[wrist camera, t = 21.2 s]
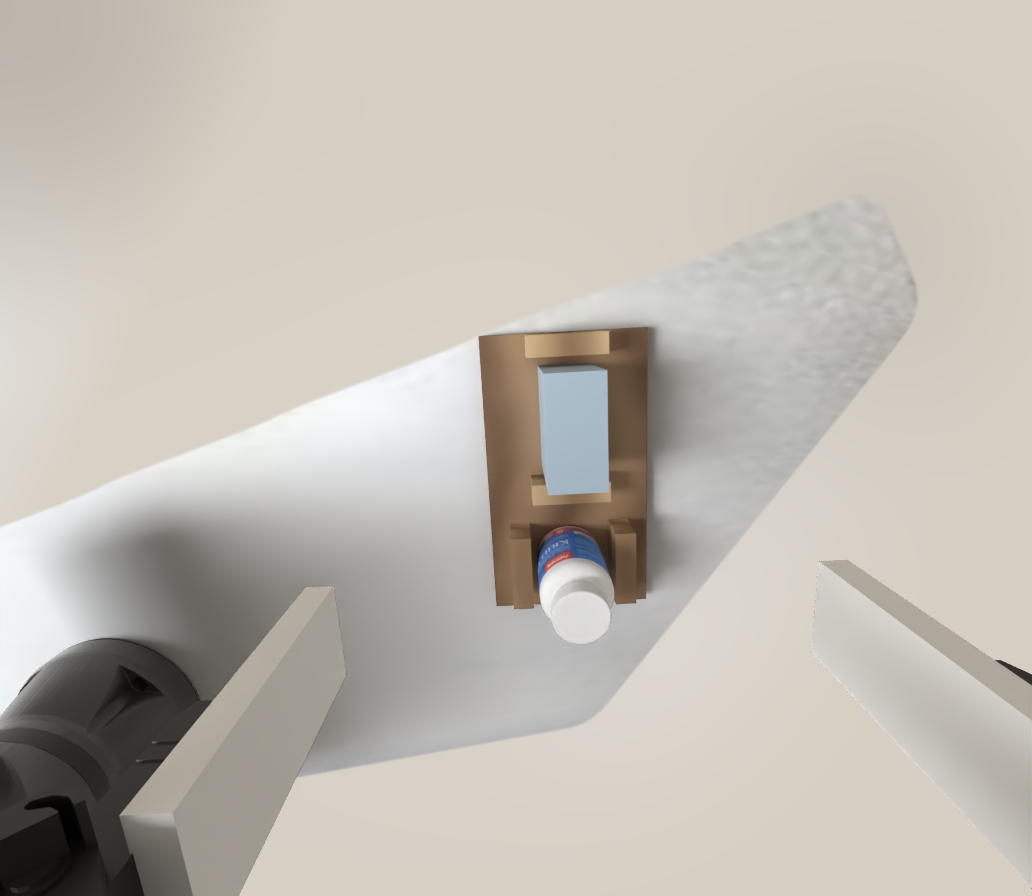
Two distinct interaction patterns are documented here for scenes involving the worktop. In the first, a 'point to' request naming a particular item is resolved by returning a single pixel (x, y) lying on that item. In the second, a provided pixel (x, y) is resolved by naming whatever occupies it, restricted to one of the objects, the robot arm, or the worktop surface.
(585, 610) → the pill bottle
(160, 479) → the worktop surface
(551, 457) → the block
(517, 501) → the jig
